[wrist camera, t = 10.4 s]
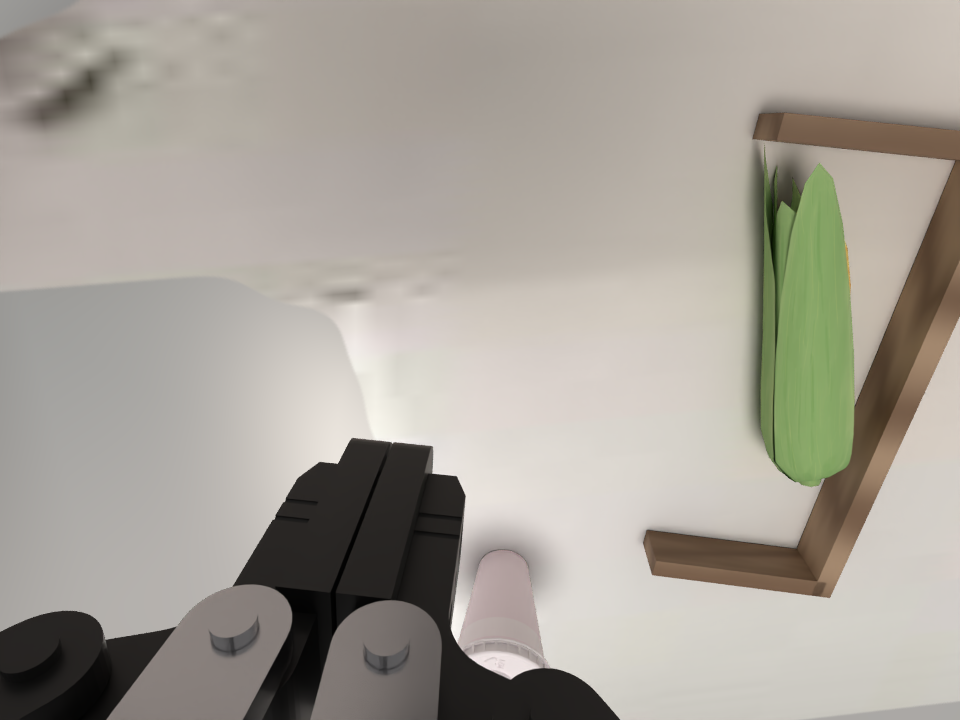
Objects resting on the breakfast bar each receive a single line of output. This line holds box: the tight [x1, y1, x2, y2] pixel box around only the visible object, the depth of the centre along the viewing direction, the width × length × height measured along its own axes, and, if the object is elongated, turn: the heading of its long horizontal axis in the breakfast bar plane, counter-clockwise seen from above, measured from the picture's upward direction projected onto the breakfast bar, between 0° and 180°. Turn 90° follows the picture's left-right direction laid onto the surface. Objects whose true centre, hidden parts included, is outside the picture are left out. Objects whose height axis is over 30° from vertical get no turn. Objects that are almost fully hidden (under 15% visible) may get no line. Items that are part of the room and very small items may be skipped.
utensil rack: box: [643, 113, 960, 598], centre depth 32 cm, size 28×12×3 cm, turn 174°
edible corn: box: [760, 144, 855, 487], centre depth 31 cm, size 5×20×5 cm
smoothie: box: [458, 550, 550, 680], centre depth 35 cm, size 6×6×14 cm
